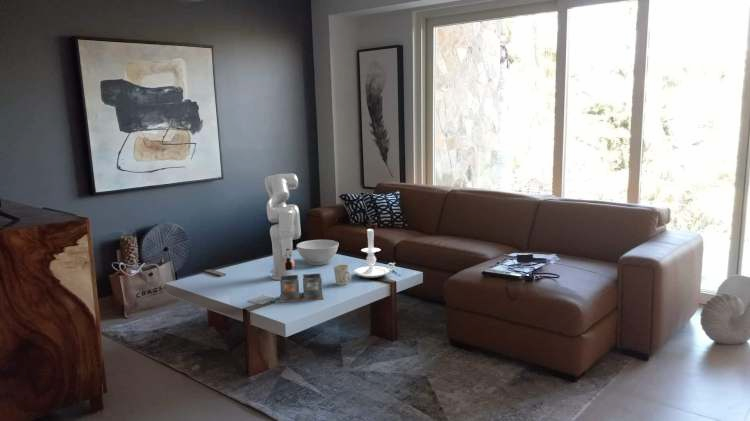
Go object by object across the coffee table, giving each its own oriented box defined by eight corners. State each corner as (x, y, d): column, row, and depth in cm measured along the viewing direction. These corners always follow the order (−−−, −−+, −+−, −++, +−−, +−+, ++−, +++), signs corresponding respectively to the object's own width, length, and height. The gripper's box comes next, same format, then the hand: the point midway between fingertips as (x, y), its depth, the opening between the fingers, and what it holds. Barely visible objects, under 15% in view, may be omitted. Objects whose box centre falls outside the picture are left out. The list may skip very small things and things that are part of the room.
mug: (342, 280, 335) (341, 263, 333) (357, 284, 326) (356, 267, 325) (331, 283, 329) (330, 266, 328) (346, 288, 320) (345, 270, 319)
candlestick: (390, 282, 329) (389, 233, 324) (348, 280, 336) (347, 231, 332) (400, 272, 348) (399, 226, 344) (360, 270, 356) (358, 224, 351)
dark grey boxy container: (280, 302, 299) (278, 281, 298) (280, 295, 310) (279, 275, 308) (323, 299, 303) (322, 278, 301) (322, 292, 313) (321, 272, 311)
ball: (280, 270, 302) (279, 258, 301) (288, 267, 307) (288, 256, 306) (288, 271, 299) (288, 260, 298) (297, 269, 303) (296, 257, 302)
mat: (247, 301, 302) (247, 300, 302) (263, 295, 311) (263, 295, 311) (262, 305, 296) (262, 304, 296) (278, 299, 305) (278, 298, 305)
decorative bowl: (347, 260, 381) (347, 241, 379) (322, 270, 359) (321, 250, 357) (314, 255, 395) (313, 238, 393) (288, 265, 373) (287, 246, 371)
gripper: (279, 231, 308) (281, 264, 311) (279, 237, 291) (281, 273, 294) (294, 230, 309) (295, 263, 312) (294, 236, 292) (296, 272, 295)
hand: (288, 268), depth 303 cm, fingers closed on ball, 5 cm apart
